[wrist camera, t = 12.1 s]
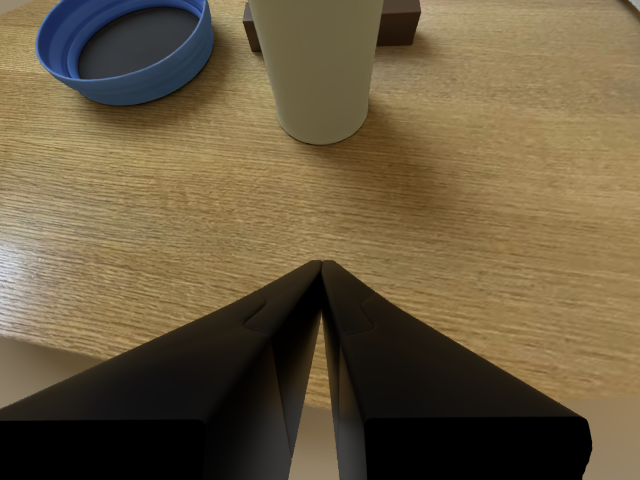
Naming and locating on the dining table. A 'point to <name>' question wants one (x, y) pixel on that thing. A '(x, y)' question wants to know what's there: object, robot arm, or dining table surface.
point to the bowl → (125, 47)
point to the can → (319, 63)
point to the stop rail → (393, 28)
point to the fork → (635, 4)
